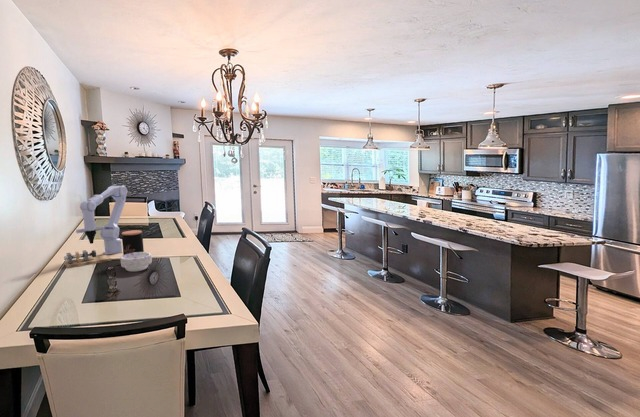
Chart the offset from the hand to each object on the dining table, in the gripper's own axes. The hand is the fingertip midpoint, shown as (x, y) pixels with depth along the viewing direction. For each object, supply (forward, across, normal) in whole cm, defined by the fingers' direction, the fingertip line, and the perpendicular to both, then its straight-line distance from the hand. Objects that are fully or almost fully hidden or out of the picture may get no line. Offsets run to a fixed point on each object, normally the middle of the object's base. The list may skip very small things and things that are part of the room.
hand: (91, 243), depth 238 cm
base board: (+9, +4, +8) cm, 13 cm away
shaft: (+7, +8, +7) cm, 13 cm away
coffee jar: (+10, -14, +29) cm, 34 cm away
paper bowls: (+10, -10, +45) cm, 47 cm away
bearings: (+8, +9, +7) cm, 14 cm away
